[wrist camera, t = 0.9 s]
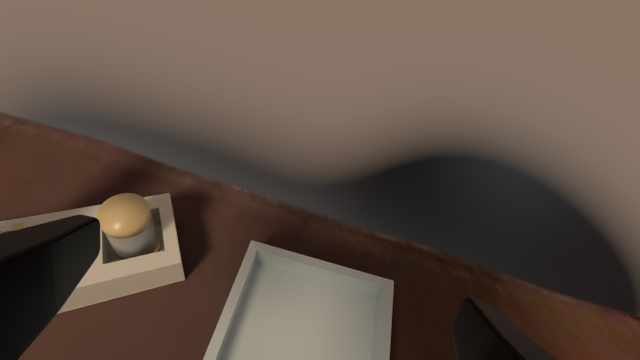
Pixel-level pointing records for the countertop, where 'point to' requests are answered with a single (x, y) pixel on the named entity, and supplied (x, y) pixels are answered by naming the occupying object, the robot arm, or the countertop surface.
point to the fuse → (128, 226)
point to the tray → (302, 311)
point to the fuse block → (124, 275)
